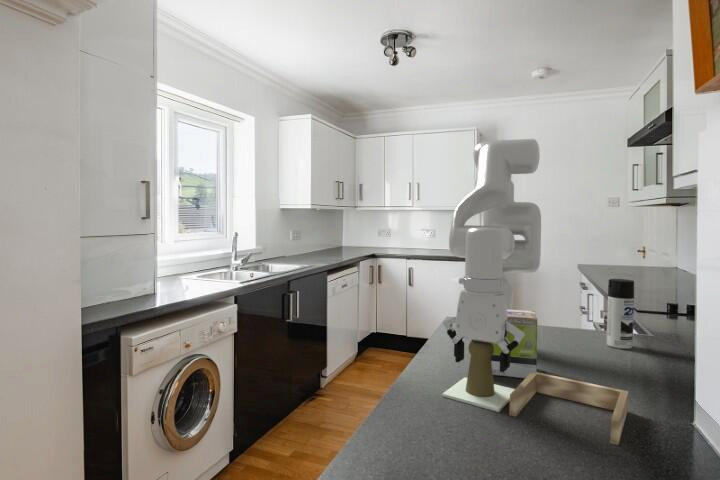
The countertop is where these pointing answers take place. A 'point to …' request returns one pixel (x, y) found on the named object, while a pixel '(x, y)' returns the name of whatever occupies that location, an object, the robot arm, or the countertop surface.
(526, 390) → the wooden u-shaped frame
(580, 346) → the countertop surface
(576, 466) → the countertop surface
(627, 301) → the spray can
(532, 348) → the tea box
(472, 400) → the mat
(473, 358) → the cork
